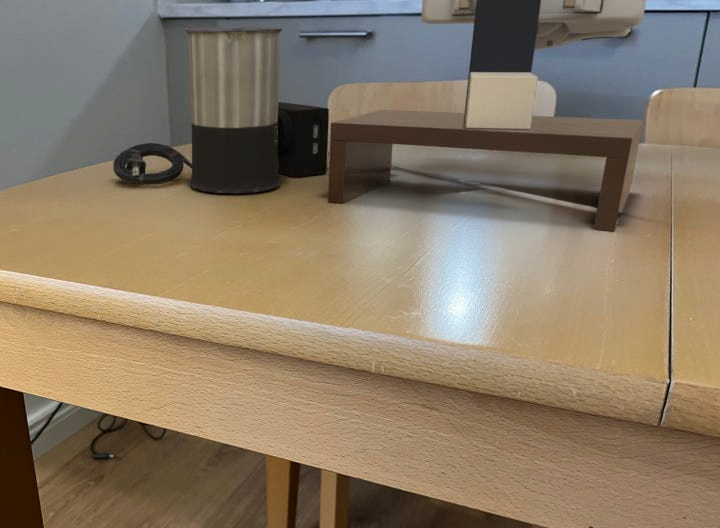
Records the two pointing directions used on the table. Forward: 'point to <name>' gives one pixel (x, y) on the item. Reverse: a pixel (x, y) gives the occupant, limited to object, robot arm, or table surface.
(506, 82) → the tall dark upright panel
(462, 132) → the monitor stand
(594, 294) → the table surface
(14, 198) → the table surface
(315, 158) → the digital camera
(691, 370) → the table surface
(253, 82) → the milk frother
